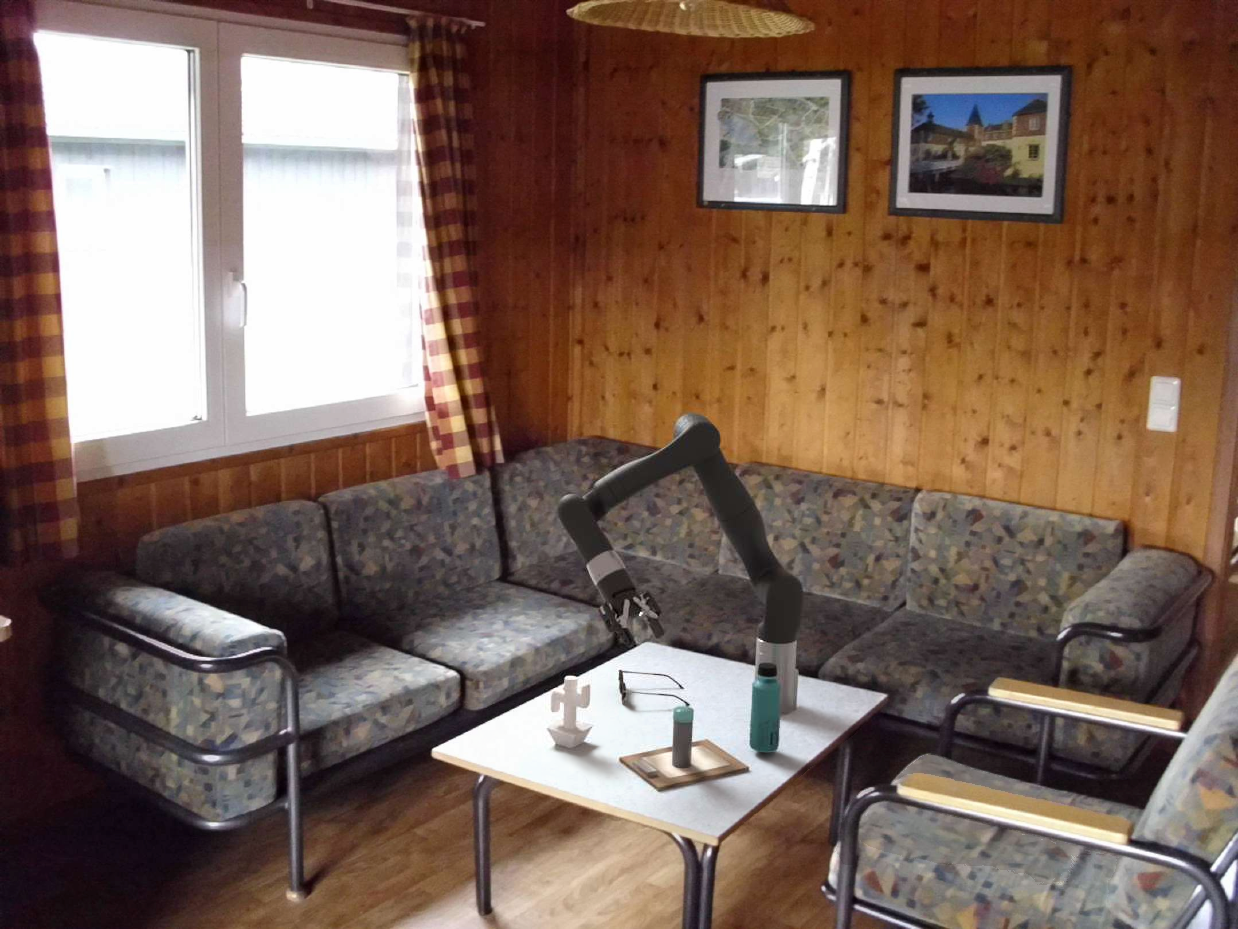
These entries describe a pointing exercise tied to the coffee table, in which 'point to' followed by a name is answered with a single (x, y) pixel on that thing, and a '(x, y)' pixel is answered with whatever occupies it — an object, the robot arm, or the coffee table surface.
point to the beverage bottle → (765, 710)
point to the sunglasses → (623, 691)
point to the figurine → (570, 713)
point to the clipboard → (704, 766)
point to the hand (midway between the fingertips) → (646, 641)
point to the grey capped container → (682, 736)
